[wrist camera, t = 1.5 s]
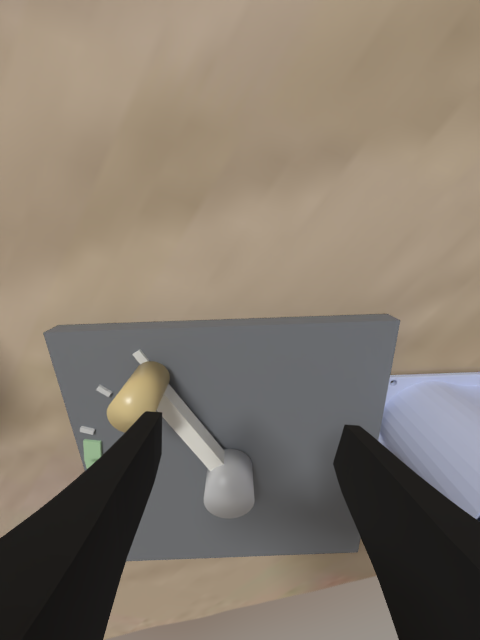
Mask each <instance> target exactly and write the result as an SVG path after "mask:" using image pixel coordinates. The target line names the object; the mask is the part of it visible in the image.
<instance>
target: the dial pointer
mask: <svg viewBox="0 0 480 640" xmlns="http://www.w3.org/2000/svg"><path fill="white" fill-rule="evenodd" d="M169 381H170V374H169V372H168V370H167V369H166V367H165V366H163V365H162V364H160V363H158V362H154V361H147V362H144V363H142V364H140V365H139V366H138V367H137V369H136V370H135V371H134V373H133V374H132V375H131V377H130V378H129V379H128V381H127V382H126V383H125V385H124V386H123V387H122V389H121V390H120V391H119V393H118V394H117V395H116V397H115V398H114V399H113V401H112V402H111V403H110V405H109V406H108V408H107V418H108V420H109V422H110V424H111V425H112V426H113V427H114V428H116V429H117V430H119V431H121V432H124V433H125V432H126V431H127V430H128V429H129V428H130V427H131V426H132V425H133V424H134V423H135V422H136V421H137V419H138V418H139V417H140V416H141V415H142V414H143V413H144V412H146V411H150V412H156V410H157V411H158V412H162V417H163V418H164V419H165V420H166V421H167V423H168V424H169V425H170V426H171V427H172V428H173V429H174V431H175V432H176V433H177V434H178V435H179V436H180V437H181V438H182V440H183V441H184V442H185V443H186V444H187V445H188V446H189V448H190V449H191V450H192V451H193V452H194V453H195V454H196V455H197V457H198V458H199V459H200V460H201V461H202V462H203V463H204V465H205V466H206V467H207V476H206V484H205V492H204V505H205V507H206V509H207V510H208V511H209V512H210V513H211V514H213V515H215V516H217V517H220V518H229V519H230V518H237V517H240V516H243V515H245V514H246V513H248V512H249V511H250V510H251V509H252V507H253V505H254V501H255V499H254V485H253V471H252V462H251V459H250V458H249V457H248V455H246V454H245V453H244V452H242V451H239V450H236V449H225V450H223V449H222V448H221V446H220V445H219V444H218V443H217V441H216V440H215V439H214V438H213V437H212V435H211V434H210V433H209V432H208V431H207V429H206V428H205V427H204V426H203V425H202V423H201V422H200V421H199V420H198V419H197V417H196V416H195V415H194V414H193V412H192V411H191V410H190V409H189V408H188V406H187V405H186V404H185V403H184V402H183V400H182V399H181V398H180V397H179V396H178V394H177V393H176V392H175V391H174V390H173V388H172V387H171V386H170V385H169Z"/></svg>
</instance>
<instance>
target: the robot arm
mask: <svg viewBox="0 0 480 640" xmlns="http://www.w3.org/2000/svg"><path fill="white" fill-rule="evenodd" d="M393 380H394V381H393ZM391 381H393V382H392V383H391ZM161 455H162V412H150V411H146V412H144V413H143V414H142V415H141V416H140V417H139V418H138V419H137V421H136V422H135V423H134V424H133V425H132V426H131V427H130V428H129V429H128V430H127V431H126V432H125V433H124V434H123V435H122V436H121V437H120V438H119V439H118V440H117V441H116V442H115V443H114V444H113V445H112V446H111V447H110V448H109V449H108V450H107V451H106V452H105V453H104V454H103V455H102V456H101V457H100V458H99V459H98V460H97V461H96V462H94V463H93V464H92V465H91V466H90V467H89V468H88V469H87V470H86V471H84V472H83V473H82V474H81V475H80V476H79V477H78V478H77V479H76V480H74V481H73V482H72V483H71V484H70V485H69V486H67V487H66V488H65V489H64V490H63V491H61V492H60V493H59V494H58V495H57V496H55V497H54V498H53V499H52V500H50V501H49V502H48V503H47V504H45V505H44V506H43V507H42V508H40V509H39V510H38V511H36V512H35V513H34V514H32V515H31V516H30V517H28V518H27V519H26V520H24V521H23V522H22V523H20V524H19V525H18V526H16V527H15V528H14V529H12V530H11V531H10V532H8V533H7V534H5V535H4V536H3V537H1V538H0V640H103V638H104V634H105V631H106V627H107V623H108V620H109V616H110V613H111V609H112V606H113V602H114V599H115V595H116V592H117V588H118V585H119V581H120V578H121V575H122V572H123V569H124V565H125V562H126V559H127V556H128V554H129V551H130V548H131V546H132V543H133V540H134V537H135V535H136V532H137V529H138V526H139V524H140V521H141V518H142V515H143V513H144V510H145V507H146V505H147V502H148V499H149V496H150V493H151V491H152V488H153V485H154V482H155V478H156V475H157V471H158V467H159V463H160V459H161ZM333 465H334V469H335V472H336V476H337V479H338V483H339V486H340V489H341V492H342V494H343V497H344V499H345V502H346V504H347V506H348V509H349V511H350V513H351V516H352V518H353V520H354V523H355V525H356V527H357V530H358V532H359V534H360V537H361V539H362V541H363V544H364V546H365V548H366V551H367V553H368V555H369V558H370V560H371V562H372V565H373V567H374V570H375V572H376V575H377V577H378V580H379V582H380V585H381V588H382V591H383V594H384V597H385V600H386V603H387V605H388V608H389V611H390V614H391V617H392V620H393V623H394V626H395V629H396V632H397V635H398V638H399V640H480V372H467V373H438V374H410V375H390V379H389V384H388V390H387V395H386V401H385V406H384V412H383V417H382V423H381V428H380V434H379V439H378V440H377V439H375V438H374V437H373V436H372V435H371V434H369V433H368V432H367V431H366V430H364V429H363V428H362V427H361V426H359V425H344V428H343V432H342V435H341V438H340V442H339V445H338V448H337V452H336V455H335V458H334V462H333Z"/></svg>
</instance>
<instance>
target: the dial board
mask: <svg viewBox="0 0 480 640" xmlns="http://www.w3.org/2000/svg"><path fill="white" fill-rule="evenodd" d="M399 324H400V320H398V319H396V318H395V317H393V316H391V315H389V314H369V315H340V316H311V317H281V318H252V319H223V320H194V321H165V322H136V323H107V324H78V325H58V326H56V327H54V328H52V329H50V330H48V331H46V332H44V333H43V334H44V337H45V340H46V344H47V347H48V350H49V354H50V357H51V360H52V363H53V367H54V370H55V373H56V377H57V380H58V383H59V387H60V390H61V393H62V396H63V400H64V403H65V406H66V410H67V413H68V416H69V420H70V423H71V426H72V429H73V433H74V436H75V439H76V443H77V446H78V449H79V453H80V456H81V459H82V462H83V466H84V469H85V471H86V470H87V469H88V468H89V467H90V466H91V465H92V464H93V463H94V462H96V461H97V460H98V459H99V458H100V457H101V456H102V455H103V454H104V453H105V452H106V451H107V450H108V449H109V448H110V447H111V446H112V445H113V444H114V443H115V442H116V441H117V440H118V439H119V438H120V437H121V436H122V435H123V434H124V432H121V431H119V430H117V429H116V428H114V427H113V426H112V425H111V424H110V422H109V420H108V418H107V408H108V406H109V405H110V403H111V402H112V401H113V399H114V398H115V397H116V395H117V394H118V393H119V391H120V390H121V389H122V387H123V386H124V385H125V383H126V382H127V381H128V379H129V378H130V377H131V375H132V374H133V373H134V371H135V370H136V369H137V367H138V366H139V365H140V364H142V363H144V362H147V361H154V362H158V363H160V364H162V365H163V366H165V367H166V369H167V370H168V372H169V374H170V381H169V385H170V386H171V387H172V388H173V390H174V391H175V392H176V393H177V394H178V396H179V397H180V398H181V399H182V400H183V402H184V403H185V404H186V405H187V406H188V408H189V409H190V410H191V411H192V412H193V414H194V415H195V416H196V417H197V419H198V420H199V421H200V422H201V423H202V425H203V426H204V427H205V428H206V429H207V431H208V432H209V433H210V434H211V435H212V437H213V438H214V439H215V440H216V441H217V443H218V444H219V445H220V446H221V448H222V449H223V450H225V449H236V450H239V451H242V452H244V453H245V454H246V455H248V457H249V458H250V459H251V462H252V471H253V485H254V499H255V501H254V505H253V507H252V509H251V510H250V511H249V512H248V513H246V514H245V515H243V516H240V517H237V518H230V519H229V518H220V517H217V516H215V515H213V514H211V513H210V512H209V511H208V510H207V509H206V507H205V505H204V492H205V484H206V476H207V467H206V466H205V465H204V463H203V462H202V461H201V460H200V459H199V458H198V457H197V455H196V454H195V453H194V452H193V451H192V450H191V449H190V448H189V446H188V445H187V444H186V443H185V442H184V441H183V440H182V438H181V437H180V436H179V435H178V434H177V433H176V432H175V431H174V429H173V428H172V427H171V426H170V425H169V424H168V423H167V421H166V420H165V419H164V418H163V417H162V455H161V459H160V463H159V467H158V471H157V475H156V478H155V482H154V485H153V488H152V491H151V493H150V496H149V499H148V502H147V505H146V507H145V510H144V513H143V515H142V518H141V521H140V524H139V526H138V529H137V532H136V535H135V537H134V540H133V543H132V546H131V548H130V551H129V554H128V556H127V559H126V561H143V560H169V559H195V558H221V557H247V556H272V555H298V554H324V553H350V552H358V548H359V543H360V534H359V532H358V530H357V527H356V525H355V523H354V520H353V518H352V516H351V513H350V511H349V509H348V506H347V504H346V502H345V499H344V497H343V494H342V492H341V489H340V486H339V483H338V479H337V476H336V472H335V469H334V465H333V462H334V458H335V455H336V452H337V448H338V445H339V442H340V438H341V435H342V432H343V428H344V425H359V426H361V427H362V428H363V429H364V430H366V431H367V432H368V433H369V434H371V435H372V436H373V437H374V438H375V439H377V440H378V439H379V434H380V428H381V423H382V417H383V412H384V406H385V401H386V395H387V390H388V384H389V379H390V374H391V368H392V363H393V357H394V352H395V346H396V341H397V335H398V330H399ZM156 412H158V411H157V410H156Z"/></svg>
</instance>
